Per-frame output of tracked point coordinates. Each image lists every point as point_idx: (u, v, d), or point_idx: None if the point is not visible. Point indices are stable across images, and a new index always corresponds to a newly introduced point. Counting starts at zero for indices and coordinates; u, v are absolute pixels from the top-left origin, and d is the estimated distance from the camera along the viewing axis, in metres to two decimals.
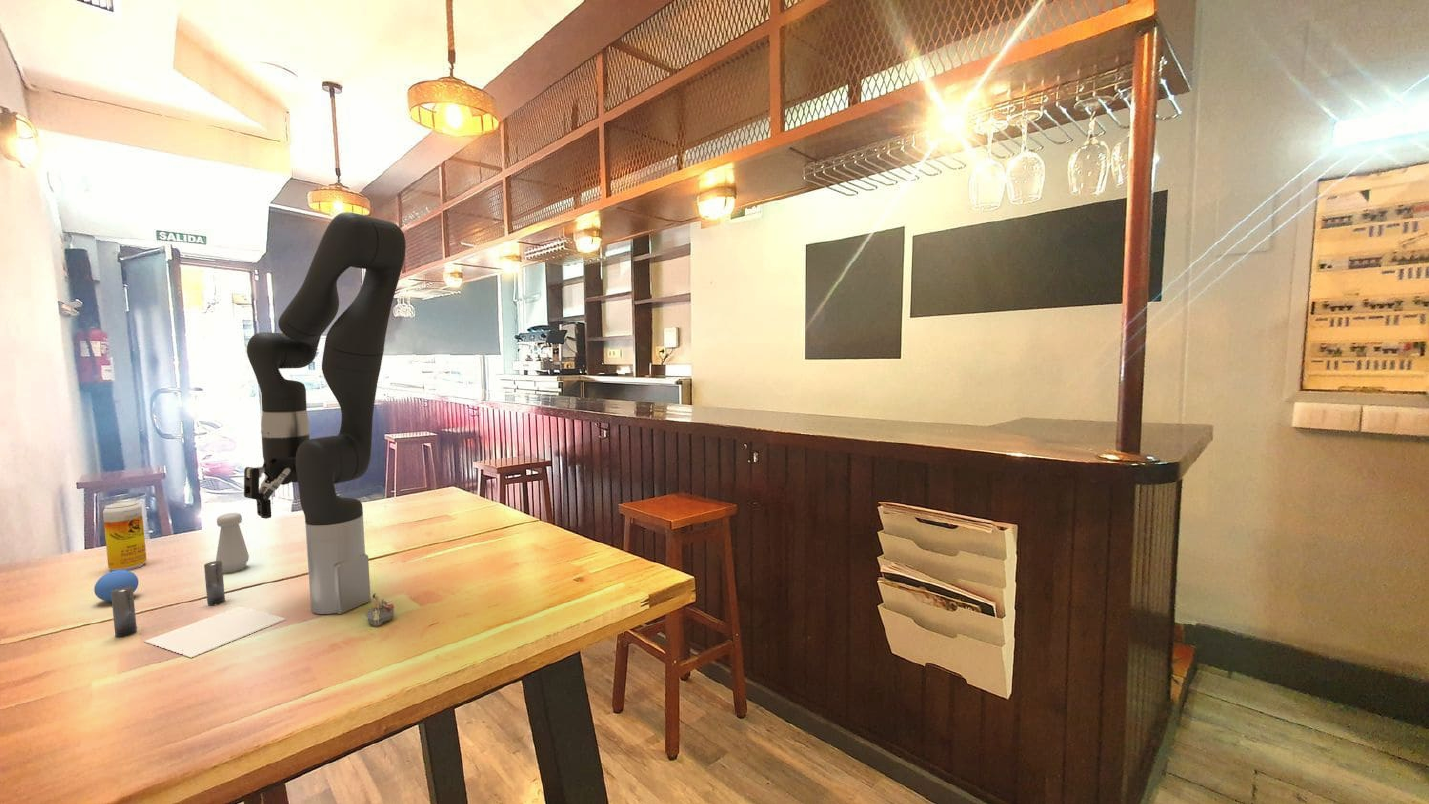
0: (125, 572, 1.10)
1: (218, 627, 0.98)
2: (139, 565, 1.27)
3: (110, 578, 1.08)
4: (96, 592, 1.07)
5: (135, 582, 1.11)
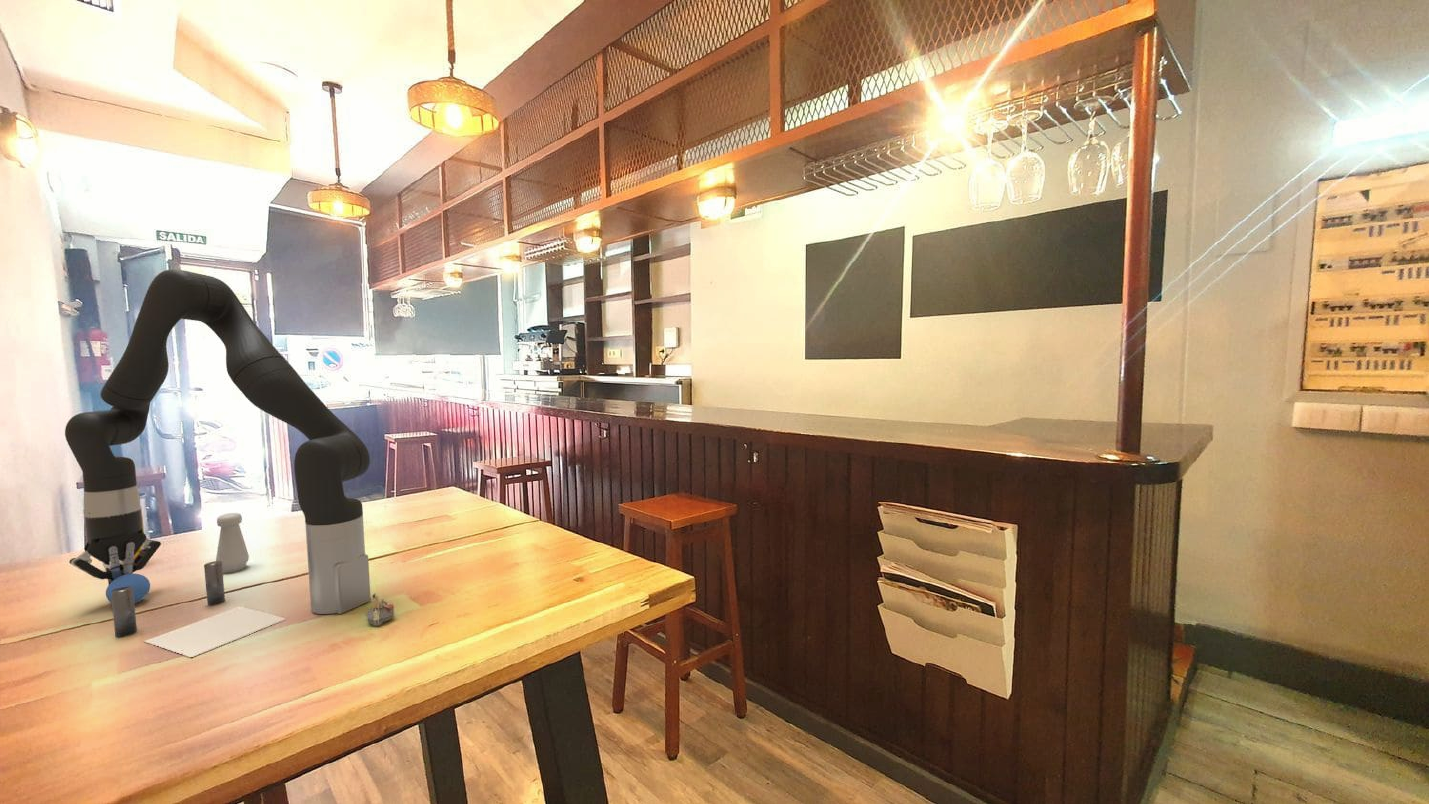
0: (142, 591, 1.08)
1: (218, 627, 0.98)
2: None
3: None
4: (107, 596, 1.05)
5: None
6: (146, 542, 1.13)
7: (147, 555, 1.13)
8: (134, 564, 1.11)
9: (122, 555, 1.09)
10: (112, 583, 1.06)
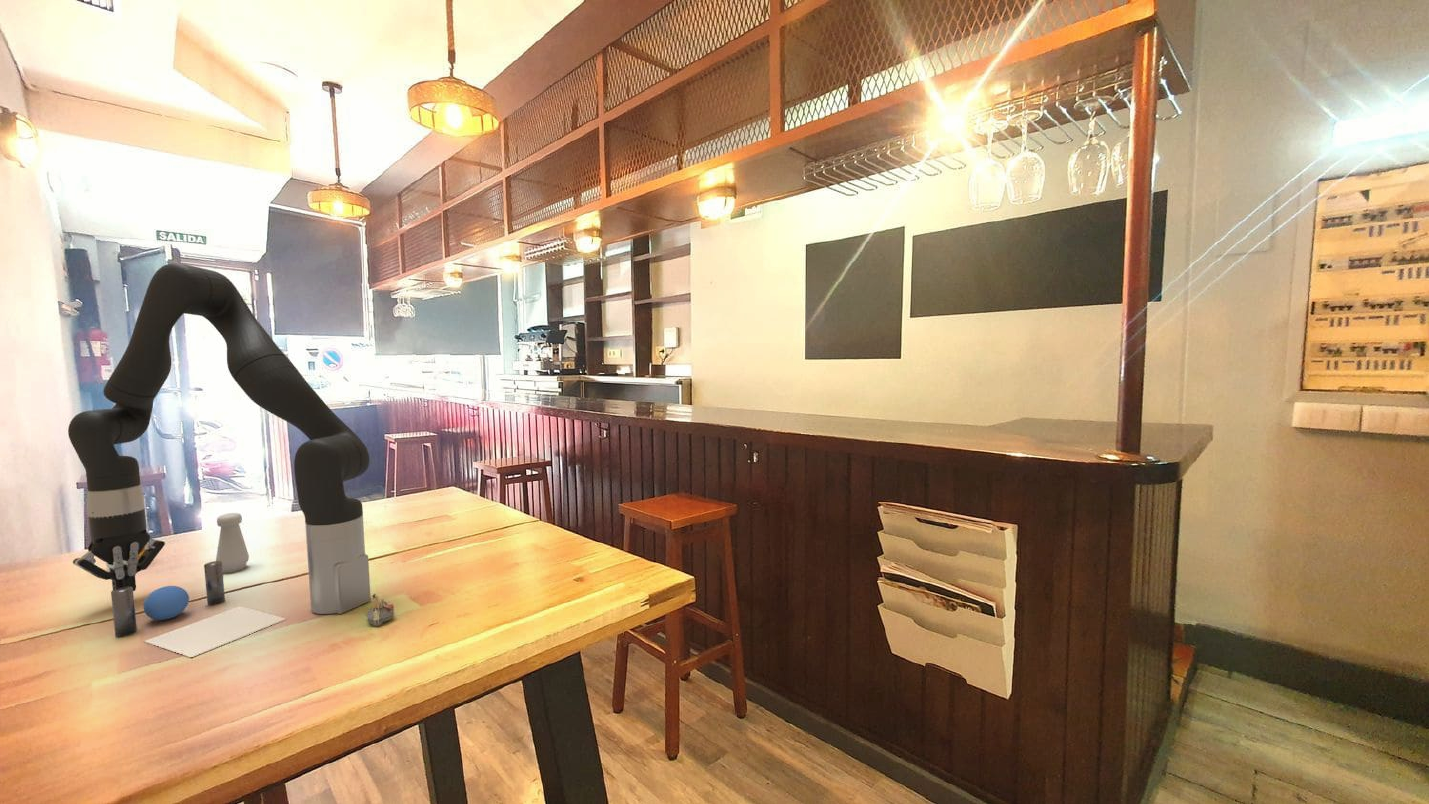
0: (175, 587, 1.02)
1: (218, 627, 0.98)
2: None
3: (160, 594, 1.00)
4: (146, 610, 0.99)
5: (186, 598, 1.03)
6: (150, 542, 1.12)
7: (151, 555, 1.11)
8: (138, 564, 1.10)
9: (126, 555, 1.08)
10: None
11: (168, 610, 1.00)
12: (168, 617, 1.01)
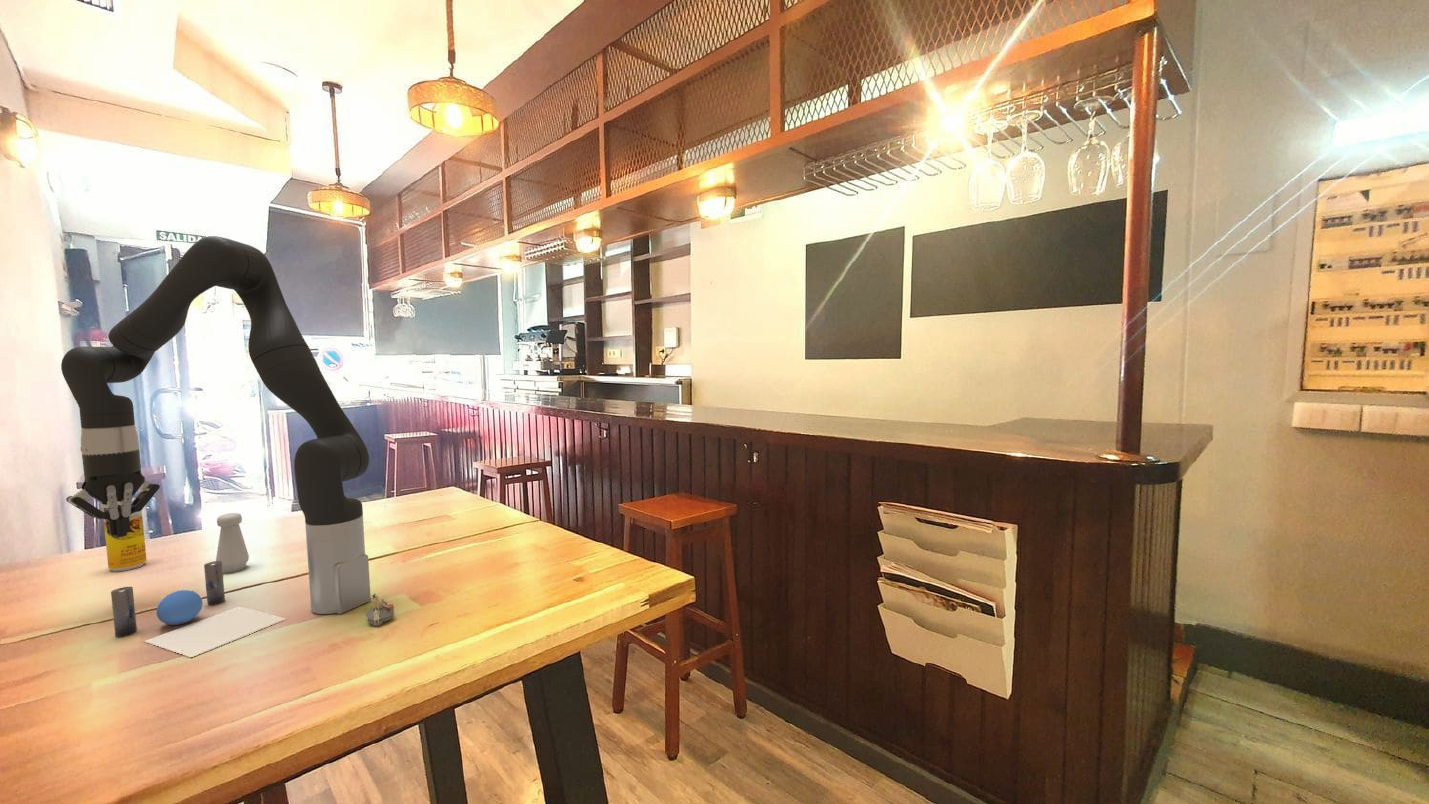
0: (195, 612, 1.00)
1: (218, 627, 0.98)
2: (139, 565, 1.27)
3: (178, 620, 0.98)
4: (158, 615, 0.97)
5: None
6: (145, 484, 1.11)
7: (146, 497, 1.10)
8: (132, 506, 1.09)
9: (120, 495, 1.07)
10: (165, 602, 0.98)
11: None
12: None
